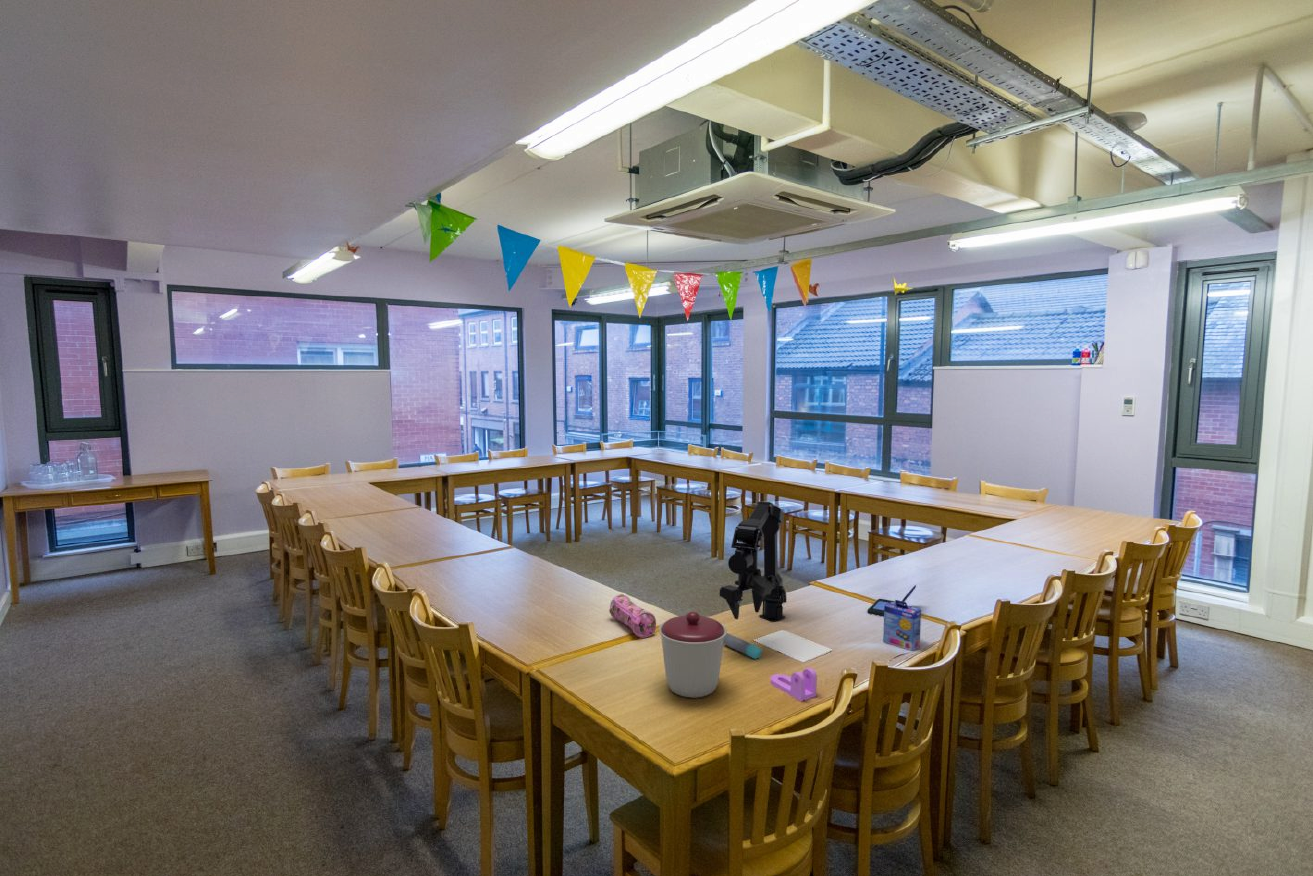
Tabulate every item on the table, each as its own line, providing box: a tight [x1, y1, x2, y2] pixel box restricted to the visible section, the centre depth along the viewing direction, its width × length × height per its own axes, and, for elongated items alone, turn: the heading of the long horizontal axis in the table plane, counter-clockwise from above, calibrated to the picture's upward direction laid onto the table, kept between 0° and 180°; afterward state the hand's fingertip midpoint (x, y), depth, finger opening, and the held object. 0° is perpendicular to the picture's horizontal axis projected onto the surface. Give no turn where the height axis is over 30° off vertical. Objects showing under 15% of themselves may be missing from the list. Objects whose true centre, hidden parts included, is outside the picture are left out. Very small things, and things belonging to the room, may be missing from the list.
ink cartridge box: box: [882, 599, 922, 652], centre depth 199 cm, size 10×6×14 cm, turn 45°
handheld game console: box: [866, 584, 917, 618], centre depth 228 cm, size 16×13×9 cm
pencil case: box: [608, 593, 657, 639], centre depth 211 cm, size 21×9×9 cm, turn 28°
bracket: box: [770, 667, 818, 702], centre depth 170 cm, size 13×6×7 cm, turn 33°
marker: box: [723, 632, 762, 660], centre depth 194 cm, size 15×4×4 cm, turn 38°
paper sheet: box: [753, 629, 834, 664], centre depth 198 cm, size 20×14×1 cm
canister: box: [658, 611, 728, 698], centre depth 169 cm, size 18×18×21 cm
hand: (746, 615), depth 193 cm, fingers open, 9 cm apart
